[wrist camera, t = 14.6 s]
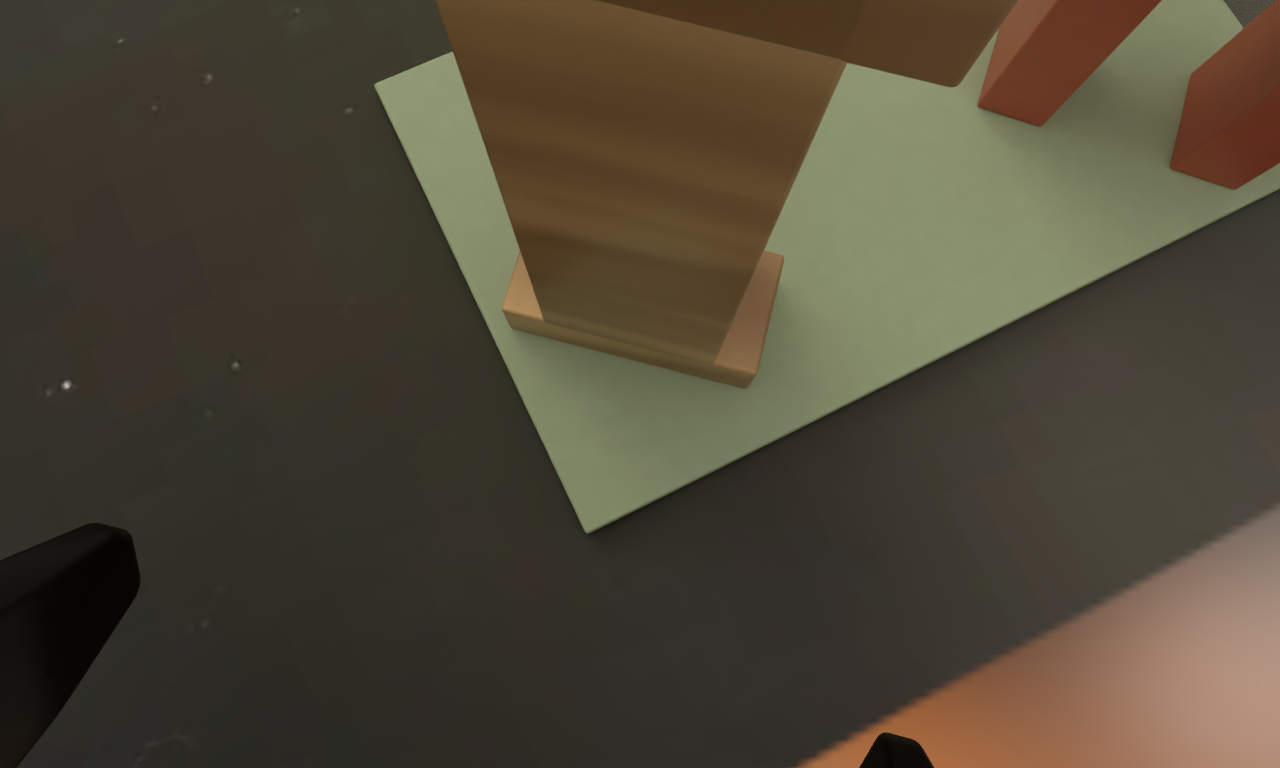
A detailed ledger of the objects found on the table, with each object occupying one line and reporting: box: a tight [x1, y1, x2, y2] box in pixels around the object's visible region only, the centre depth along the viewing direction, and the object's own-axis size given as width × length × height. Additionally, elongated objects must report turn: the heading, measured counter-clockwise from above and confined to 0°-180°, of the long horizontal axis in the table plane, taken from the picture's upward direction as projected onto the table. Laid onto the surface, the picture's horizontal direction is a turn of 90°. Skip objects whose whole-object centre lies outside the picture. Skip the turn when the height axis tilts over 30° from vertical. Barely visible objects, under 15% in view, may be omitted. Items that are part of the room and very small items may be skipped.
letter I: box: [436, 0, 1018, 389], centre depth 13 cm, size 3×6×14 cm, turn 75°
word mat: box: [374, 0, 1280, 534], centre depth 21 cm, size 13×22×1 cm, turn 116°
